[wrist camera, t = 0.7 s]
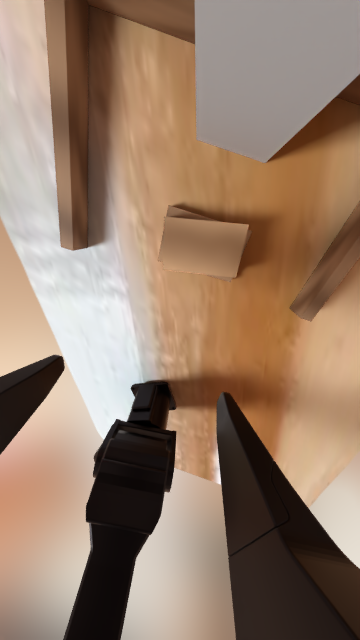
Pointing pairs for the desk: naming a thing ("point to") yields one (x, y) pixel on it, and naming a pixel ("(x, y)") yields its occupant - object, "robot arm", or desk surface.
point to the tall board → (270, 68)
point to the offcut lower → (189, 215)
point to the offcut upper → (203, 246)
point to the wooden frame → (72, 128)
